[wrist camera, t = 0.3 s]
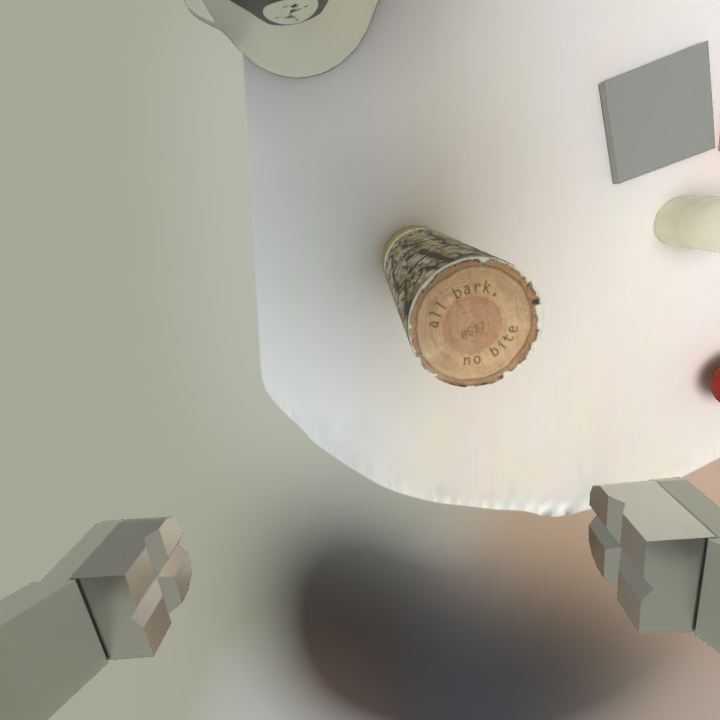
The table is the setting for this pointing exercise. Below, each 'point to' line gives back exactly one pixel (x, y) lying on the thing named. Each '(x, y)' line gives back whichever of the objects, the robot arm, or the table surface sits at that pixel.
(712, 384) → the onion
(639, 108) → the slate coaster
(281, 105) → the table surface
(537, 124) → the table surface
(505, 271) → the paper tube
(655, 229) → the spice jar
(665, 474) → the table surface
